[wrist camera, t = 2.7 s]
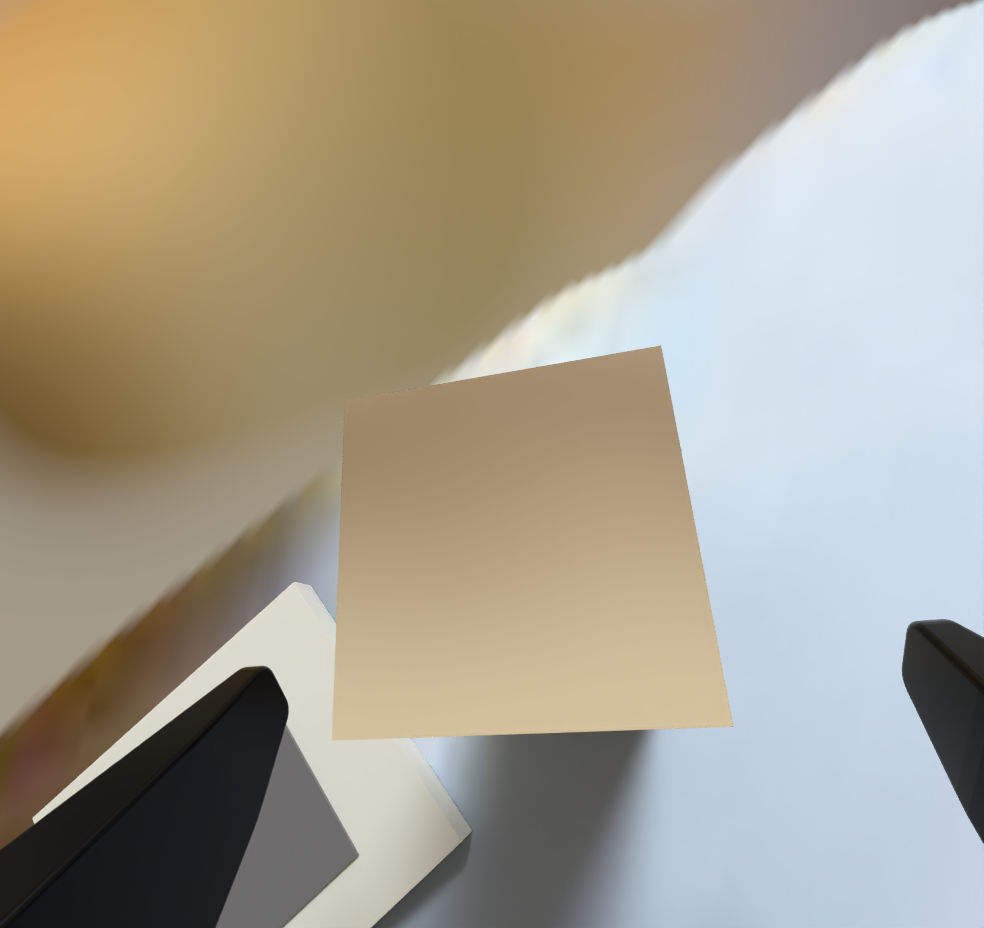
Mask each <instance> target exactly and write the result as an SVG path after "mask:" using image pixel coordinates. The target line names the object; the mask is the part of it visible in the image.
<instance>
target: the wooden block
mask: <svg viewBox="0 0 984 928" xmlns="http://www.w3.org/2000/svg"><path fill="white" fill-rule="evenodd" d="M343 438H344V439H343V463H342V489H341V515H340V541H339V567H338V593H337V619H336V645H335V671H334V697H333V723H332V741H336V740H365V739H393V738H422V737H450V736H479V735H507V734H536V733H564V732H593V731H622V730H650V729H679V728H707V727H733V722H732V717H731V711H730V706H729V701H728V696H727V690H726V685H725V680H724V675H723V669H722V664H721V659H720V654H719V648H718V643H717V638H716V633H715V627H714V622H713V617H712V611H711V606H710V601H709V596H708V590H707V585H706V580H705V575H704V569H703V564H702V559H701V554H700V548H699V543H698V538H697V533H696V527H695V522H694V517H693V512H692V506H691V501H690V496H689V490H688V485H687V480H686V475H685V469H684V464H683V459H682V454H681V448H680V443H679V438H678V433H677V427H676V422H675V417H674V412H673V406H672V401H671V396H670V391H669V385H668V380H667V375H666V369H665V364H664V359H663V354H662V348H661V346H656V347H651V348H645V349H639V350H633V351H628V352H622V353H616V354H610V355H605V356H599V357H593V358H587V359H582V360H576V361H570V362H564V363H559V364H553V365H547V366H541V367H536V368H530V369H524V370H518V371H513V372H507V373H501V374H495V375H490V376H484V377H478V378H472V379H467V380H461V381H455V382H449V383H444V384H438V385H432V386H426V387H421V388H415V389H409V390H403V391H398V392H392V393H387V394H380V395H374V396H369V397H363V398H358V399H352V400H346V401H345V411H344V437H343Z"/></svg>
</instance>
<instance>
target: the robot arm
mask: <svg viewBox="0 0 984 928" xmlns="http://www.w3.org/2000/svg"><path fill="white" fill-rule="evenodd" d="M902 677H903V681H904V684H905V687H906V689H907V692H908V694H909V696H910V698H911V700H912V702H913V704H914V706H915V708H916V711H917V713H918V715H919V717H920V719H921V721H922V723H923V725H924V727H925V729H926V731H927V734H928V736H929V738H930V740H931V742H932V744H933V746H934V748H935V750H936V752H937V755H938V757H939V759H940V761H941V763H942V765H943V767H944V769H945V771H946V773H947V775H948V778H949V780H950V782H951V784H952V786H953V788H954V790H955V792H956V794H957V796H958V798H959V800H960V802H961V804H962V806H963V808H964V810H965V812H966V814H967V816H968V818H969V819H970V821H971V823H972V825H973V826H974V828H975V830H976V832H977V833H978V835H979V837H980V838H981V840H982V842H983V843H984V637H982V636H980V635H978V634H976V633H975V632H973V631H971V630H969V629H967V628H965V627H963V626H962V625H960V624H958V623H956V622H953V621H951V620H946V619H939V620H924V621H915V622H912V623H911V624H910V625H909V626H908V628H907V632H906V640H905V648H904V655H903V663H902ZM288 714H289V705H288V701H287V699H286V697H285V695H284V693H283V691H282V689H281V687H280V685H279V683H278V681H277V679H276V677H275V675H274V673H273V672H272V670H271V669H270V668H268V667H267V666H252V667H244V668H241V669H239V670H238V671H236V672H235V673H234V674H232V675H231V676H230V677H228V678H227V679H226V680H224V681H223V682H222V683H220V684H219V685H218V686H216V687H215V688H214V689H213V690H211V691H210V692H209V693H207V694H206V695H205V696H203V697H202V698H201V699H199V700H198V701H197V702H195V703H194V704H193V705H191V706H190V707H189V708H187V709H186V710H185V711H183V712H182V713H181V714H179V715H178V716H177V717H175V718H174V719H173V720H171V721H170V722H169V723H167V724H166V725H165V726H163V727H162V728H161V729H160V730H158V731H157V732H156V733H154V734H153V735H152V736H150V737H149V738H148V739H146V740H145V741H144V742H142V743H141V744H140V745H138V746H137V747H136V748H134V749H133V750H132V751H130V752H129V753H128V754H126V755H125V756H124V757H122V758H121V759H120V760H118V761H117V762H116V763H114V764H113V765H112V766H110V767H109V768H108V769H107V770H105V771H104V772H103V773H101V774H100V775H99V776H97V777H96V778H95V779H93V780H92V781H91V782H89V783H88V784H87V785H85V786H84V787H83V788H81V789H80V790H79V791H77V792H76V793H75V794H73V795H72V796H71V797H69V798H68V799H67V800H65V801H64V802H63V803H61V804H60V805H59V806H57V807H56V808H55V809H54V810H52V811H51V812H50V813H48V814H47V815H46V816H44V817H43V818H42V819H40V820H39V821H38V822H36V823H35V824H34V825H32V826H31V827H30V828H28V829H27V830H26V831H24V832H23V833H22V834H20V835H19V836H18V837H16V838H15V839H14V840H12V841H11V842H10V843H8V844H7V845H6V846H4V847H3V848H2V849H1V850H0V928H216V926H217V924H218V921H219V919H220V916H221V913H222V911H223V908H224V906H225V903H226V901H227V898H228V895H229V893H230V890H231V888H232V885H233V883H234V880H235V878H236V875H237V872H238V870H239V867H240V865H241V862H242V860H243V857H244V854H245V852H246V849H247V847H248V844H249V842H250V839H251V837H252V834H253V831H254V828H255V826H256V823H257V820H258V817H259V814H260V811H261V808H262V805H263V802H264V798H265V795H266V791H267V788H268V785H269V781H270V778H271V774H272V771H273V768H274V764H275V761H276V757H277V754H278V751H279V747H280V744H281V740H282V737H283V733H284V730H285V727H286V723H287V720H288Z"/></svg>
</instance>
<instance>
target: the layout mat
mask: <svg viewBox="0 0 984 928" xmlns="http://www.w3.org/2000/svg"><path fill="white" fill-rule="evenodd" d="M335 645H336V623H335V622H334V620H333V619H332V617H331V616H330V614H329V613H328V611H327V610H326V608H325V607H324V605H323V604H322V602H321V601H320V599H319V598H318V596H317V594H316V593H315V591H314V590H313V588H312V587H311V586H310V585H305V584H301V583H296V582H294V583H292V584H291V585H290V586H289V587H288V588H287V589H286V590H285V591H284V592H282V593H281V594H280V595H279V596H278V597H277V598H276V599H275V600H274V601H272V602H271V603H270V604H269V605H268V606H267V607H266V608H265V609H264V610H262V611H261V612H260V613H259V614H258V615H257V616H256V617H255V618H254V619H253V620H251V621H250V622H249V623H248V624H247V625H246V626H245V627H244V628H243V629H241V630H240V631H239V632H238V633H237V634H236V635H235V636H234V637H233V638H231V639H230V640H229V641H228V642H227V643H226V644H225V645H224V646H223V647H221V648H220V649H219V650H218V651H217V652H216V653H215V654H214V655H213V656H212V657H210V658H209V659H208V660H207V661H206V662H205V663H204V664H203V665H202V666H200V667H199V668H198V669H197V670H196V671H195V672H194V673H193V674H192V675H190V676H189V677H188V678H187V679H186V680H185V681H184V682H183V683H182V684H180V685H179V686H178V687H177V688H176V689H175V690H174V691H173V692H172V693H171V694H169V695H168V696H167V697H166V698H165V699H164V700H163V701H162V702H161V703H159V704H158V705H157V706H156V707H155V708H154V709H153V710H152V711H151V712H149V713H148V714H147V715H146V716H145V717H144V718H143V719H142V720H141V721H139V722H138V723H137V724H136V725H135V726H134V727H133V728H132V729H131V730H129V731H128V732H127V733H126V734H125V735H124V736H123V737H122V738H121V739H120V740H118V741H117V742H116V743H115V744H114V745H113V746H112V747H111V748H110V749H108V750H107V751H106V752H105V753H104V754H103V755H102V756H101V757H100V758H98V759H97V760H96V761H95V762H94V763H93V764H92V765H91V766H90V767H88V768H87V769H86V770H85V771H84V772H83V773H82V774H81V775H80V776H79V777H77V778H76V779H75V780H74V781H73V782H72V783H71V784H70V785H69V786H67V787H66V788H65V789H64V790H63V791H62V792H61V793H60V794H59V795H57V796H56V797H55V798H54V799H53V800H52V801H51V802H50V803H49V804H47V805H46V806H45V807H44V808H43V809H42V810H41V811H40V812H39V813H38V814H36V815H35V816H34V817H33V818H32V819H33V822H34V824H35V823H36V822H38V821H39V820H40V819H42V818H43V817H44V816H46V815H47V814H48V813H50V812H51V811H52V810H54V809H55V808H56V807H57V806H59V805H60V804H61V803H63V802H64V801H65V800H67V799H68V798H69V797H71V796H72V795H73V794H75V793H76V792H77V791H79V790H80V789H81V788H83V787H84V786H85V785H87V784H88V783H89V782H91V781H92V780H93V779H95V778H96V777H97V776H99V775H100V774H101V773H103V772H104V771H105V770H107V769H108V768H109V767H110V766H112V765H113V764H114V763H116V762H117V761H118V760H120V759H121V758H122V757H124V756H125V755H126V754H128V753H129V752H130V751H132V750H133V749H134V748H136V747H137V746H138V745H140V744H141V743H142V742H144V741H145V740H146V739H148V738H149V737H150V736H152V735H153V734H154V733H156V732H157V731H158V730H160V729H161V728H162V727H163V726H165V725H166V724H167V723H169V722H170V721H171V720H173V719H174V718H175V717H177V716H178V715H179V714H181V713H182V712H183V711H185V710H186V709H187V708H189V707H190V706H191V705H193V704H194V703H195V702H197V701H198V700H199V699H201V698H202V697H203V696H205V695H206V694H207V693H209V692H210V691H211V690H213V689H214V688H215V687H216V686H218V685H219V684H220V683H222V682H223V681H224V680H226V679H227V678H228V677H230V676H231V675H232V674H234V673H235V672H236V671H238V670H239V669H241V668H244V667H252V666H267V667H268V668H270V669H271V670H272V672H273V673H274V675H275V677H276V679H277V681H278V683H279V685H280V687H281V689H282V691H283V693H284V695H285V697H286V699H287V701H288V705H289V714H288V720H287V723H286V727H285V730H284V733H283V737H282V740H281V744H280V747H279V751H278V754H277V757H276V761H275V764H274V768H273V771H272V774H271V778H270V781H269V785H268V788H267V791H266V795H265V798H264V802H263V805H262V808H261V811H260V814H259V817H258V820H257V823H256V826H255V828H254V831H253V834H252V837H251V839H250V842H249V844H248V847H247V849H246V852H245V854H244V857H243V860H242V862H241V865H240V867H239V870H238V872H237V875H236V878H235V880H234V883H233V885H232V888H231V890H230V893H229V895H228V898H227V901H226V903H225V906H224V908H223V911H222V913H221V916H220V919H219V921H218V924H217V926H216V928H371V927H372V926H373V925H374V924H375V923H376V922H377V921H379V920H380V919H381V918H382V917H383V916H384V915H385V914H386V913H387V912H388V911H389V910H390V909H391V908H392V907H393V906H394V905H395V904H396V903H398V902H399V901H400V900H401V899H402V898H403V897H404V896H405V895H406V894H407V893H408V892H409V891H410V890H411V889H412V888H413V887H414V886H416V885H417V884H418V883H419V882H420V881H421V880H422V879H423V878H424V877H425V876H426V875H427V874H428V873H429V872H430V871H431V870H432V869H433V868H435V867H436V866H437V865H438V864H439V863H440V862H441V861H442V860H443V859H444V858H445V857H446V856H447V855H448V854H449V853H450V852H451V851H452V850H454V849H455V848H456V847H457V846H458V845H459V844H460V843H461V842H462V841H463V840H464V839H465V838H466V837H467V836H468V835H469V833H470V832H471V831H472V830H471V828H470V827H469V825H468V824H467V822H466V821H465V819H464V818H463V816H462V815H461V813H460V811H459V810H458V808H457V807H456V805H455V804H454V802H453V801H452V799H451V798H450V796H449V795H448V793H447V792H446V790H445V789H444V787H443V786H442V784H441V783H440V781H439V780H438V778H437V777H436V775H435V774H434V772H433V771H432V769H431V767H430V766H429V764H428V763H427V761H426V760H425V758H424V757H423V755H422V754H421V752H420V751H419V749H418V748H417V746H416V745H415V743H414V742H413V740H412V739H411V738H393V739H365V740H336V741H332V723H333V697H334V671H335Z"/></svg>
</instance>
